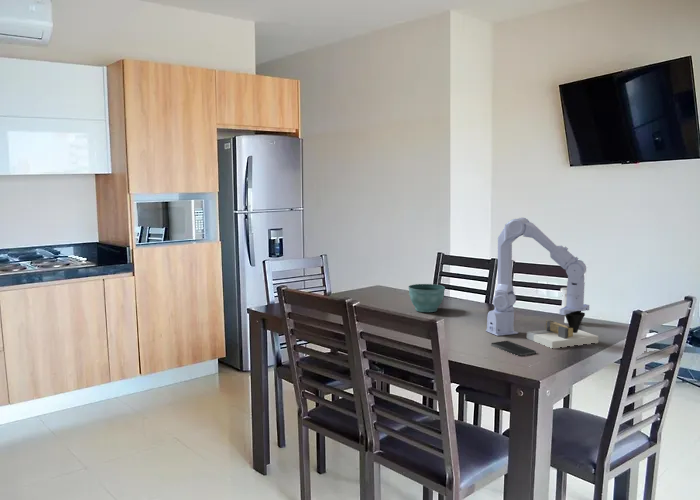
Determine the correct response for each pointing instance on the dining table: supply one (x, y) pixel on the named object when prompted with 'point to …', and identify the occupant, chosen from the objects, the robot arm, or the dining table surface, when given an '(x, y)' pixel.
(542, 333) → the white panel
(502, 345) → the phone
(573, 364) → the dining table surface
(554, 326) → the bar
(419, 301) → the flower pot
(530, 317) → the dining table surface
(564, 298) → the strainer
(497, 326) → the robot arm
